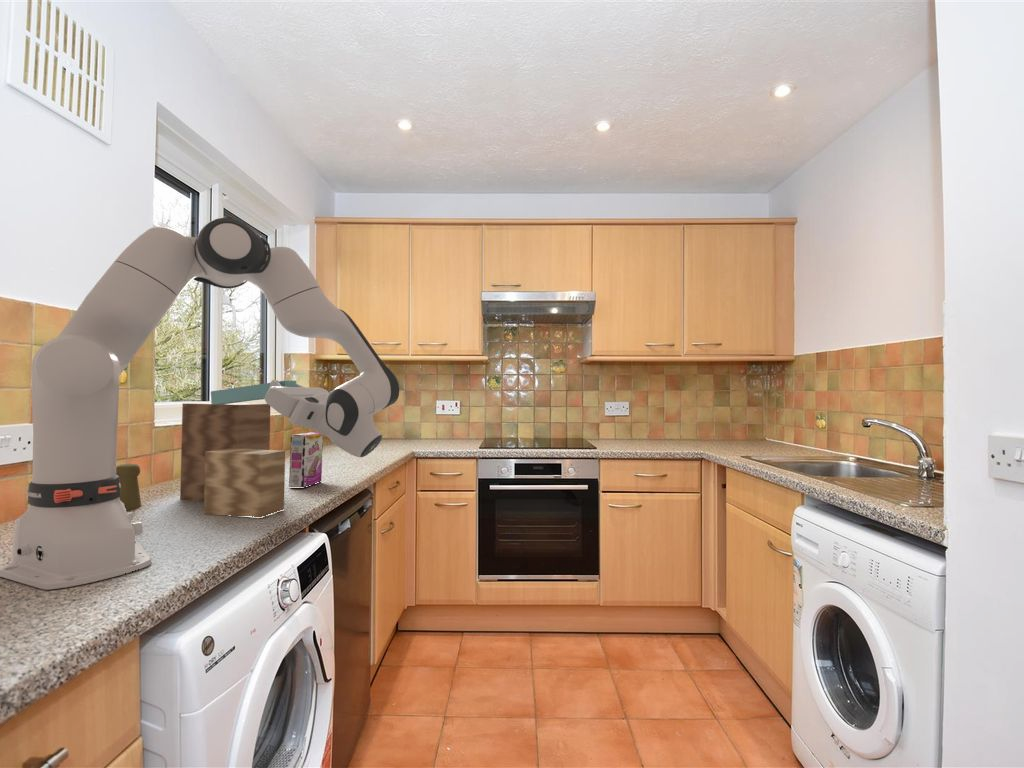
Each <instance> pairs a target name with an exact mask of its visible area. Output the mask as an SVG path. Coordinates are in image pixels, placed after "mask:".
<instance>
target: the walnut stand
mask: <svg viewBox="0 0 1024 768" xmlns="http://www.w3.org/2000/svg"><path fill="white" fill-rule="evenodd" d="M181 408H182V411H181V415H182V417H181V418H182V419H181V448H180V449H181V451H180V452H181V455H180V494H179V496H180V497H179V498H180V499H179V500H182V501H183V500H186V501H196V502H204V486H205V452H207V451H214V450H221V449H228V448H240V449H260V450H271V448H270V445H271V444H270V443H271V442H270V441H271V406H270V405H269V404H267V403H254V402H253V403H251V402H250V403H247V402H237V403H230V404H218V405H212V403H211V402H195V403H194V402H188V403H187V402H186V403H182V407H181Z"/></svg>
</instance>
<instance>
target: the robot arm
mask: <svg viewBox="0 0 1024 768" xmlns="http://www.w3.org/2000/svg"><path fill="white" fill-rule="evenodd" d="M191 281H196V282H199V283H203V284H207V285H210V286H213V287H216V288H219V289H220V288H221V289H227V290H229V289H236V288H239V287H242V286H243V285H245V284H246V283H247V282H249V283H251V284H253V285H254V286H256V288H258V289H259V290H260V292H261V293H262V294H263V295H264V296H265V299H266V300H267V303H268V305H269V306H270V308H271V310H272V312H273V314H274V316H275V318H276V320H278V322H279V323H280V325H281V326H282V327H283V328H284V329H285V330H286V332H288V333H291V334H293V335H295V336H298V337H301V338H311V339H314V338H316V339H317V338H318V339H326V340H327V339H328V340H331V341H334V342H335V343H337V344H338V345H340V346H341V348H342V349H343V350H344V351H345V353H346V354H347V355H348V357H349V358H350V360H351V361H352V363H354V365H355V367H356V368H357V370H358V371H359V375H356V377H354V378H352V379H350V380H348V381H345V382H344V383H343V384H340V385H339V386H337V387H336V388H334V389H332V390H331V391H330V392H329V391H328V390H327V389H325V388H322V387H309V386H308V387H306V386H303V385H300V384H298V383H296V384H297V387H284V386H282V385H281V384H282V383H281V382H279V380H275V379H272V380H271V382H269V383H270V388H269V390H268V392H267V394H266V395H265V399H264V401H265V404H269V405H270V408H272V409H273V410H274V411H276V412H277V413H279V414H280V415H282V416H283V417H285V418H288V421H289V423H290V424H292V425H293V426H297V427H302V428H306V429H310V430H311V431H313V430H314V431H315V432H316V433H320V434H321V435H323V437H324V436H325V437H326V438H328V439H329V440H330V442H331V443H333V444H334V445H335V446H336V447H338V448H340V449H341V450H343V452H346V453H348V454H350V455H351V456H354V457H356V458H364V457H366V456H368V455H369V454H370V453H372V452H373V451H374V450H375V449H376V448H377V447H378V445H380V443H381V441H382V439H383V434H382V432H381V431H380V430H379V429H377V427H376V425H375V422H374V416H375V414H377V413H379V412H380V411H381V410H384V409H386V408H388V407H391V406H392V405H394V404H395V403H396V402H397V401H398V399H399V396H400V383H399V380H398V378H397V376H396V374H394V372H393V371H392V370H391V369H390V368H389V367H388V366H387V365H386V364H385V363H384V361H382V359H381V358H380V356H379V355H378V354H377V352H376V351H375V349H374V348H373V346H372V345H371V344H370V342H369V341H368V339H367V337H366V336H365V334H363V332H362V331H361V330H360V327H358V325H357V324H356V322H355V321H354V320H353V319H352V318H351V316H350V315H349V314H348V313H347V312H346V311H344V310H343V309H340V308H338V307H337V306H336V305H334V304H333V302H331V301H330V300H329V298H328V297H327V295H325V293H324V292H323V290H322V288H321V286H320V285H319V283H318V281H317V279H316V278H315V275H314V274H313V273H312V272H311V270H310V269H309V267H308V266H307V264H306V263H305V262H304V260H303V258H301V256H300V255H299V254H298V253H297V251H295V250H294V249H292V248H290V247H287V246H274V247H271V246H270V244H269V242H268V241H267V240H266V239H264V238H263V237H262V236H260V235H259V234H257V233H256V232H255V231H254V229H252V228H251V227H249V226H248V225H247V224H245V223H244V222H242V221H240V220H238V219H235V218H231V217H230V218H229V217H219V218H216V219H213V220H210V221H209V222H207V223H206V224H205V225H204V226H203V227H202V228H201V229H200V230H199V233H198V234H197V236H195V237H193V236H188V235H184V234H182V233H181V232H180V231H178V230H175V229H173V228H171V227H166V226H153V227H151V228H148V229H147V230H145V232H143V233H142V234H140V235H139V236H138V237H137V238H136V239H135V240H133V241H132V242H131V243H130V244H129V245H128V246H127V247H126V248H125V249H124V250H123V251H122V252H121V253H120V254H119V256H117V258H116V259H115V260H114V262H113V263H112V264H111V265H110V266H109V267H108V268H107V270H106V271H105V272H104V273H103V275H102V276H101V278H100V279H99V280H98V281H97V282H96V284H95V285H94V286H93V287H92V289H90V291H89V292H88V293H87V295H86V296H85V297H84V299H83V301H82V302H81V304H80V306H79V307H78V308H77V310H75V312H74V313H73V315H72V316H71V318H70V319H69V321H68V322H67V324H66V325H65V326H64V327H63V329H62V330H61V332H60V333H59V334H58V336H56V337H55V338H52V339H50V340H48V341H47V342H45V343H44V344H43V345H42V346H40V347H39V348H38V349H37V350H36V352H35V354H34V355H33V358H32V361H31V408H32V409H31V410H32V412H31V414H32V430H33V431H32V432H33V434H32V436H33V438H32V439H33V441H32V442H33V443H32V444H33V445H32V446H33V447H32V475H31V477H32V478H31V481H30V482H29V483H28V489H27V492H26V496H27V504H28V505H29V506H28V507H27V510H26V511H25V512H24V513H23V514H22V515H20V516H19V517H18V518H17V519H16V520H14V526H13V528H14V529H13V538H12V548H11V557H10V558H11V559H10V563H8V564H4V565H2V566H0V577H1V578H4V579H7V580H10V581H13V582H17V583H21V584H23V585H28V586H30V587H34V588H37V589H40V590H49V591H50V590H56V589H62V588H69V587H76V586H80V585H81V586H82V585H85V584H89V583H95V582H98V581H102V580H106V579H110V578H111V579H112V578H115V577H118V576H123V575H126V574H129V573H132V571H133V572H134V571H135V570H136V571H138V569H139V570H141V569H143V568H146V567H148V566H150V564H151V565H152V564H153V562H152V558H151V557H150V555H149V554H148V552H147V551H146V550H145V549H144V547H143V546H142V545H141V543H139V541H138V540H136V536H141V535H142V534H143V523H142V522H141V521H136V522H132V520H134V519H133V518H134V514H133V512H128V510H127V511H126V509H125V507H124V503H122V502H121V501H120V499H119V497H120V496H121V491H120V488H121V485H120V482H119V476H118V475H116V467H117V460H118V459H117V458H118V456H117V451H118V422H119V418H118V417H119V400H120V399H119V397H120V396H119V395H120V376H121V375H122V373H123V372H124V371H125V369H126V368H127V367H128V365H129V364H130V362H131V361H132V359H133V358H134V357H135V356H136V354H137V353H138V351H140V349H141V347H142V346H143V345H144V344H145V342H146V341H147V339H148V338H149V337H150V336H151V334H152V333H153V332H154V330H155V329H156V327H157V326H158V325H159V323H160V322H161V321H162V319H163V317H164V316H165V315H166V313H168V311H169V310H170V308H171V307H172V306H173V304H174V303H175V301H176V300H177V298H178V297H179V296H180V294H181V293H182V292H183V291H184V289H185V287H186V286H187V285H188V284H189V283H190V282H191ZM125 573H126V574H125Z"/></svg>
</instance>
